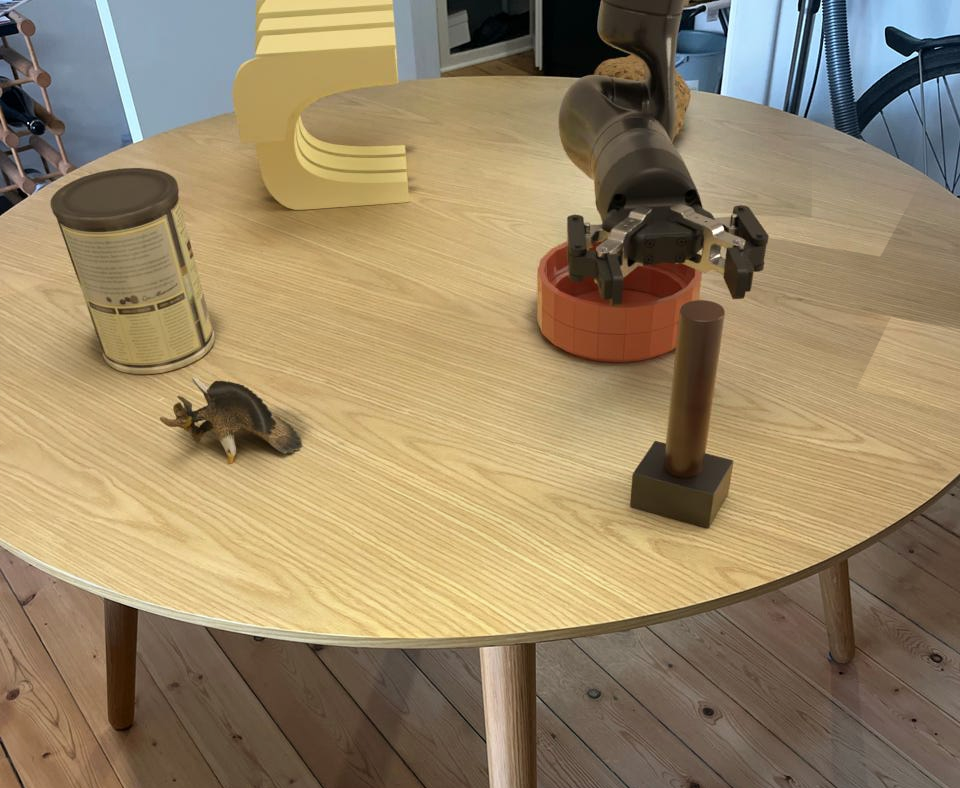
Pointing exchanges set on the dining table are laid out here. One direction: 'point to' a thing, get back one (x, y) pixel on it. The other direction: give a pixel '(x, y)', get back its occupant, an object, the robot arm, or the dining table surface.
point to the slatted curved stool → (306, 78)
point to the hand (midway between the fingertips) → (679, 290)
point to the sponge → (635, 71)
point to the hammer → (688, 429)
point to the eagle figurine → (233, 417)
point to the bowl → (613, 309)
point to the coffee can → (135, 268)
